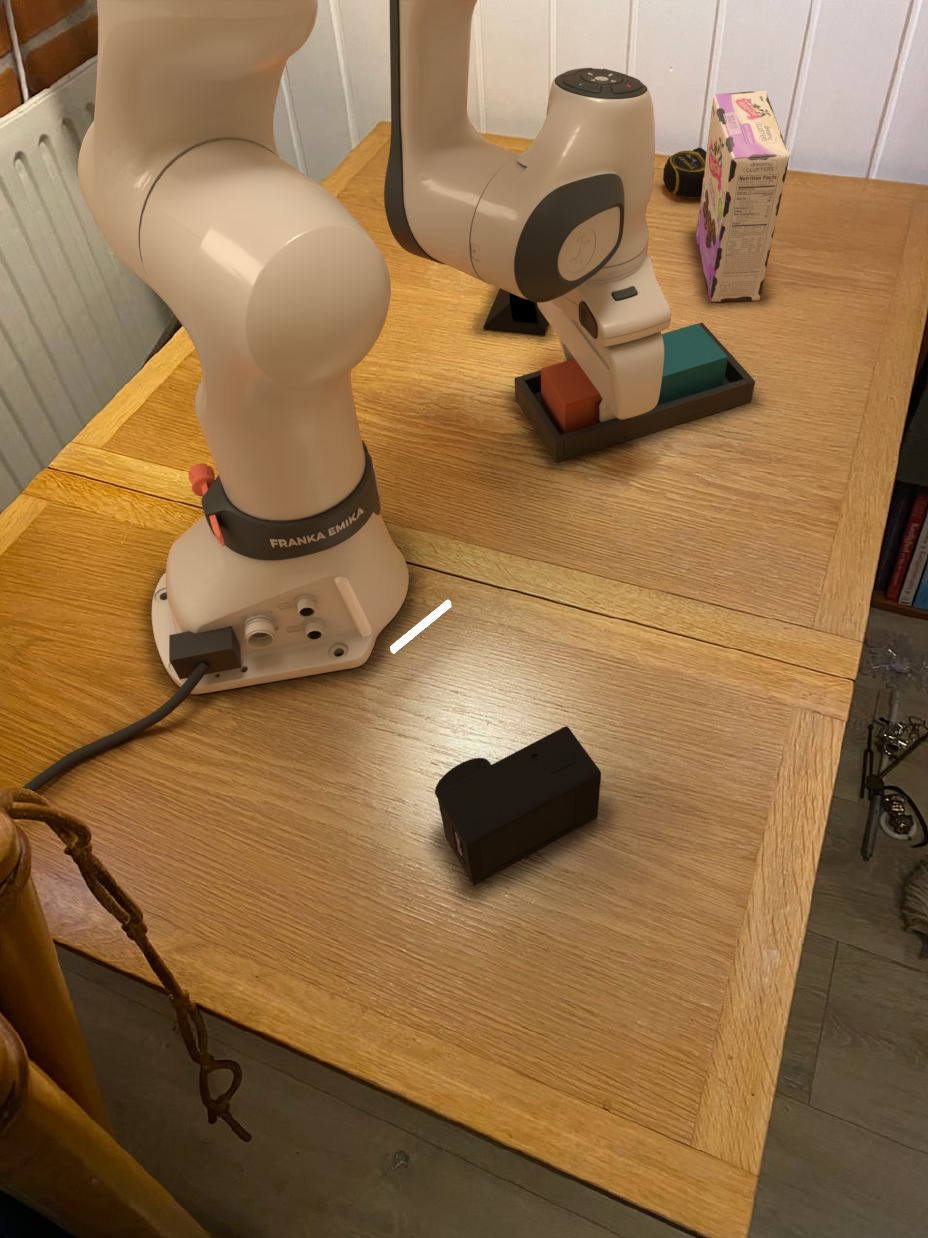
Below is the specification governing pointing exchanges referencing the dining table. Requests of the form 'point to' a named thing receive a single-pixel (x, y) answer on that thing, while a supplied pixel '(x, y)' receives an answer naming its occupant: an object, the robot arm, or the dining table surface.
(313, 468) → the robot arm
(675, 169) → the tape measure
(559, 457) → the dark brown tray
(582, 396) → the orange rectangular block
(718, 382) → the teal block
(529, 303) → the black flat based block
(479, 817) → the digital camera
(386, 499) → the dining table surface
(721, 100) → the candy box
